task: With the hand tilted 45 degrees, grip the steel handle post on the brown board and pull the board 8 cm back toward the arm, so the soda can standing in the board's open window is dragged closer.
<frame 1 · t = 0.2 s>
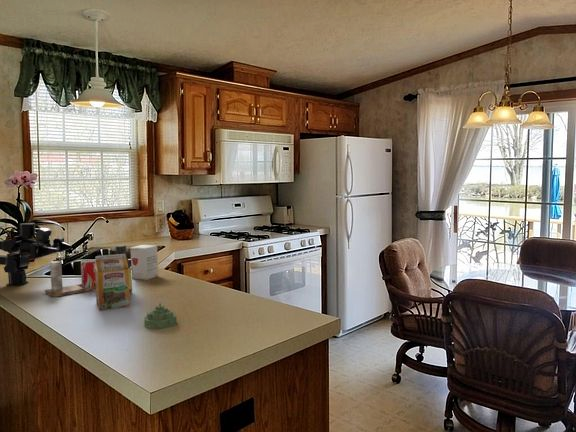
hand: (64, 248, 209), 17 cm above the countertop, tool horizontal, fingers open, 9 cm apart
decorative artifact: (160, 325, 154), on the countertop
supplement box: (145, 277, 226), on the countertop
sauce bottle: (124, 293, 196), on the countertop
food package: (113, 305, 178), on the countertop
soda can: (90, 288, 206), resting in brown board
brown board: (76, 274, 201), point 7 cm above the countertop, slide at 0.0 cm
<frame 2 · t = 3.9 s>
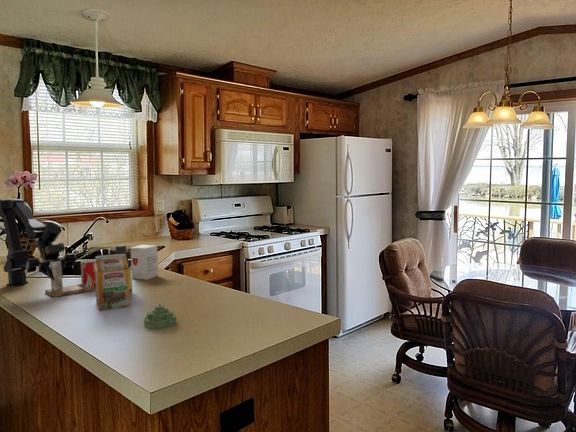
hand: (57, 278, 195), 7 cm above the countertop, tool tilted 45°, fingers closed on brown board, 3 cm apart
brown board: (76, 274, 201), point 7 cm above the countertop, slide at 0.0 cm, touching gripper
everything else where it was.
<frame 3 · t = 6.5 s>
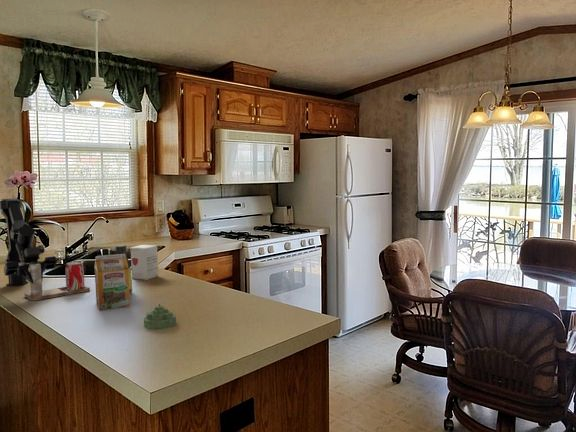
hand: (37, 282, 189), 7 cm above the countertop, tool tilted 45°, fingers closed on brown board, 3 cm apart
soda can: (75, 291, 201), resting in brown board
brown board: (57, 277, 196), point 7 cm above the countertop, slide at 7.8 cm, touching gripper, soda can
everything else where it was.
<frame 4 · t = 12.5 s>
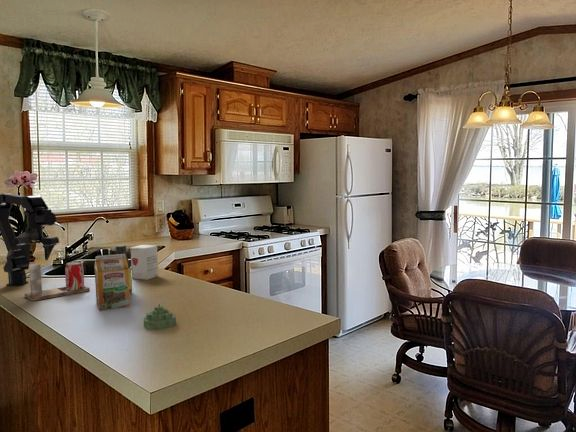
hand: (37, 260, 208), 12 cm above the countertop, tool pointing down, fingers open, 9 cm apart
soda can: (75, 291, 201), resting in brown board
brown board: (56, 277, 196), point 7 cm above the countertop, slide at 7.9 cm
everything else where it was.
at the end: brown board slide at 7.9 cm; soda can inside the target area (1.3 cm from its centre), resting in brown board; soda can tilted 0° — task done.
